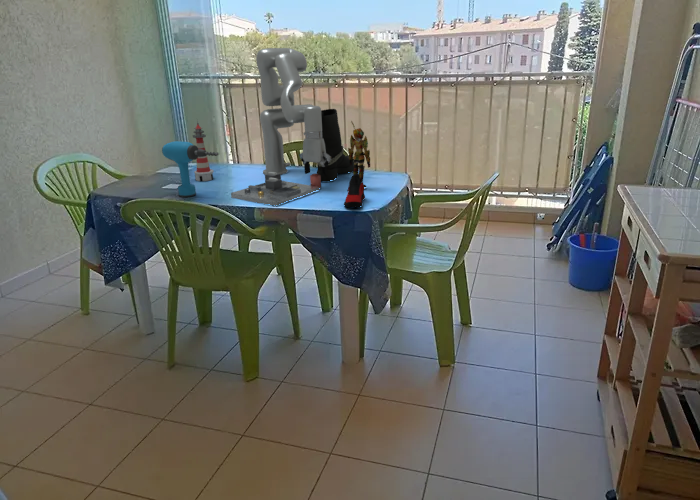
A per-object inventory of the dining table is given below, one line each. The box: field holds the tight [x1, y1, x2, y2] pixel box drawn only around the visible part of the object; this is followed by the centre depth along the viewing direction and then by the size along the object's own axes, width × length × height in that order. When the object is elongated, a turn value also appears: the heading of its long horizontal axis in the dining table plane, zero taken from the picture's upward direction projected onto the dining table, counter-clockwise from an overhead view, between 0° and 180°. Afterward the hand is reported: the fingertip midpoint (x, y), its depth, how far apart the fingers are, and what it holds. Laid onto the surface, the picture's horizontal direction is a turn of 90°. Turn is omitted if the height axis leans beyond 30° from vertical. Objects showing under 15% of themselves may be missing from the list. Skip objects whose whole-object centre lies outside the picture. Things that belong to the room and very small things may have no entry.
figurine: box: [347, 120, 371, 187], centre depth 223 cm, size 11×7×30 cm
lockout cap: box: [309, 173, 322, 188], centre depth 229 cm, size 5×5×7 cm
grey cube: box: [264, 178, 283, 190], centre depth 220 cm, size 5×5×5 cm
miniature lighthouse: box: [192, 119, 215, 182], centre depth 245 cm, size 9×9×30 cm
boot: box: [316, 108, 354, 181], centre depth 249 cm, size 12×35×33 cm, turn 155°
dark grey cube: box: [264, 172, 282, 182], centre depth 230 cm, size 5×5×5 cm
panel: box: [230, 180, 320, 207], centre depth 222 cm, size 28×26×4 cm
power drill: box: [161, 140, 219, 198], centre depth 217 cm, size 28×9×23 cm, turn 68°
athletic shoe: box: [343, 173, 366, 208], centre depth 205 cm, size 8×20×12 cm, turn 173°
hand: (315, 174), depth 228 cm, fingers open, 9 cm apart
